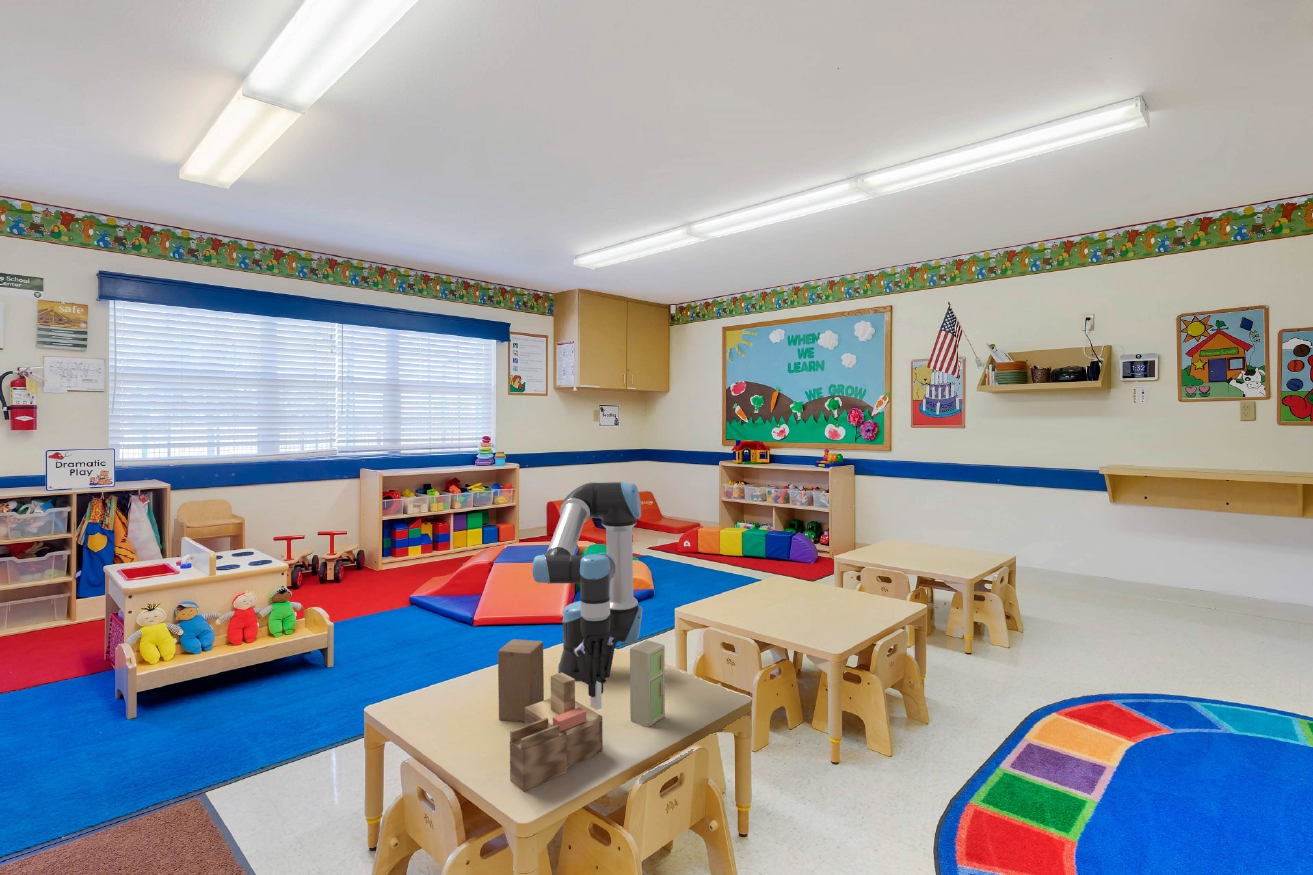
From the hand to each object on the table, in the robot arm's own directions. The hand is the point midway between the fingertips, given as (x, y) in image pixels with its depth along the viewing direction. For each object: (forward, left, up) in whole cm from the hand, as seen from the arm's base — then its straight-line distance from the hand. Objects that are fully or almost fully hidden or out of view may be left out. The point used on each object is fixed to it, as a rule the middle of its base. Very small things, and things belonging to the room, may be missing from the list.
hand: (596, 707), depth 162 cm
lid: (+5, -8, -3) cm, 10 cm away
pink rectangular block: (+8, 0, -2) cm, 8 cm away
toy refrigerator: (-21, -4, -12) cm, 24 cm away
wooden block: (+3, -31, -12) cm, 34 cm away
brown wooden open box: (+11, -7, -11) cm, 17 cm away
